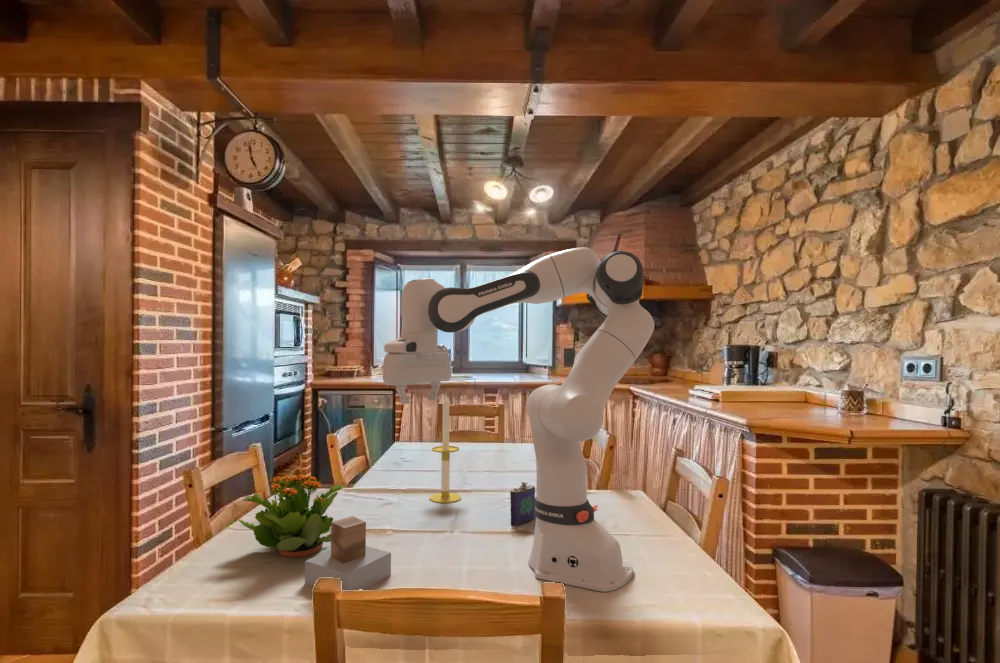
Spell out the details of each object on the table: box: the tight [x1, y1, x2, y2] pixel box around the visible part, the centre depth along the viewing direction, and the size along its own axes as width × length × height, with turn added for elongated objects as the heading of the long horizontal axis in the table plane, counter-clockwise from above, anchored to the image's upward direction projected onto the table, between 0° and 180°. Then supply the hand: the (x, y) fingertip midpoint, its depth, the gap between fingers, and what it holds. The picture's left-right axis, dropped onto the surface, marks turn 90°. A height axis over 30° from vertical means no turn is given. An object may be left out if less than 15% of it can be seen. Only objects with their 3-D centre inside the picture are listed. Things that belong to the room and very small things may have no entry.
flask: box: [509, 481, 536, 527], centre depth 146 cm, size 9×3×11 cm, turn 138°
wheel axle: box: [429, 394, 462, 504], centre depth 167 cm, size 10×10×32 cm
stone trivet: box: [304, 545, 392, 590], centre depth 110 cm, size 12×12×5 cm
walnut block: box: [330, 515, 367, 563], centre depth 110 cm, size 5×5×7 cm
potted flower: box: [237, 474, 345, 558], centre depth 125 cm, size 25×24×18 cm
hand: (418, 401), depth 130 cm, fingers open, 8 cm apart
